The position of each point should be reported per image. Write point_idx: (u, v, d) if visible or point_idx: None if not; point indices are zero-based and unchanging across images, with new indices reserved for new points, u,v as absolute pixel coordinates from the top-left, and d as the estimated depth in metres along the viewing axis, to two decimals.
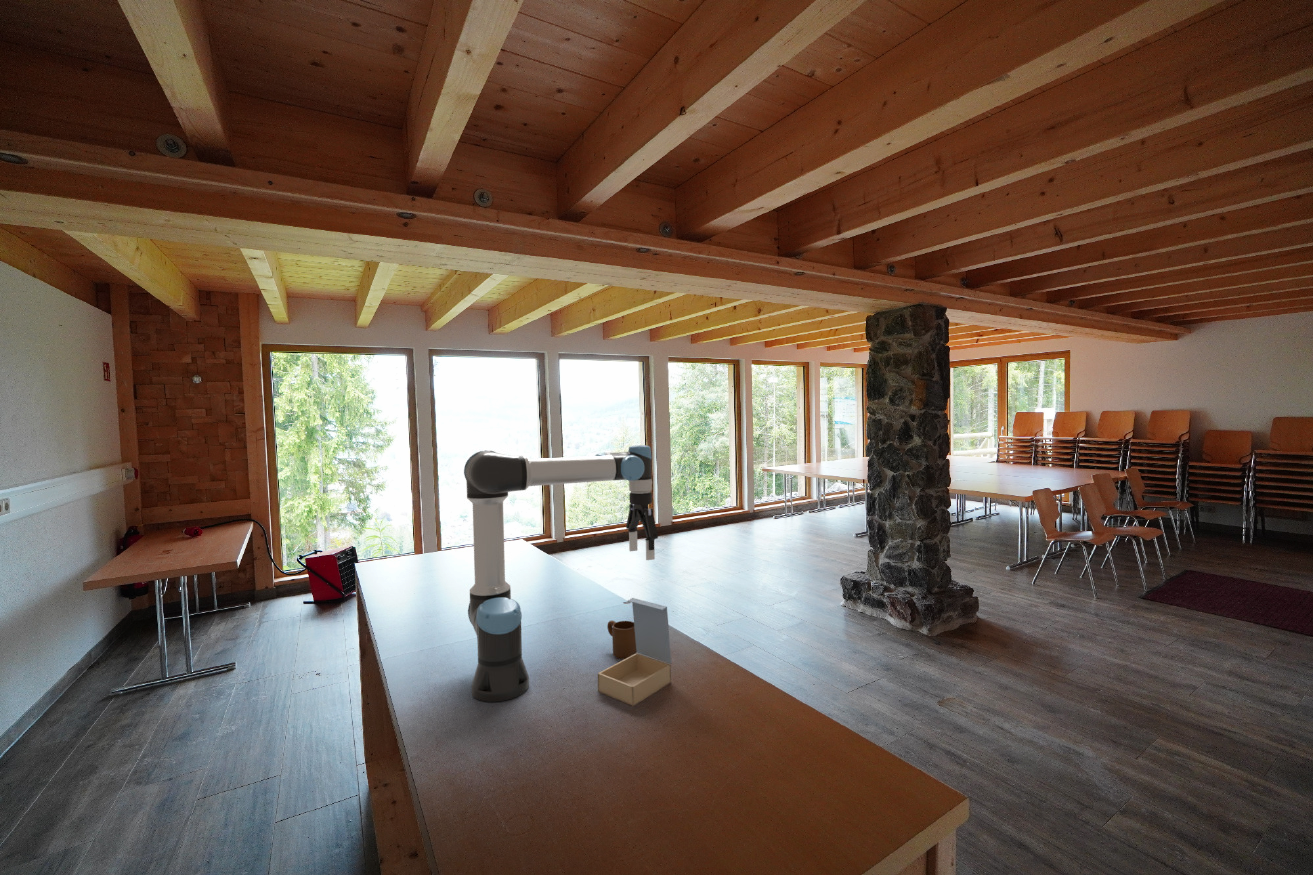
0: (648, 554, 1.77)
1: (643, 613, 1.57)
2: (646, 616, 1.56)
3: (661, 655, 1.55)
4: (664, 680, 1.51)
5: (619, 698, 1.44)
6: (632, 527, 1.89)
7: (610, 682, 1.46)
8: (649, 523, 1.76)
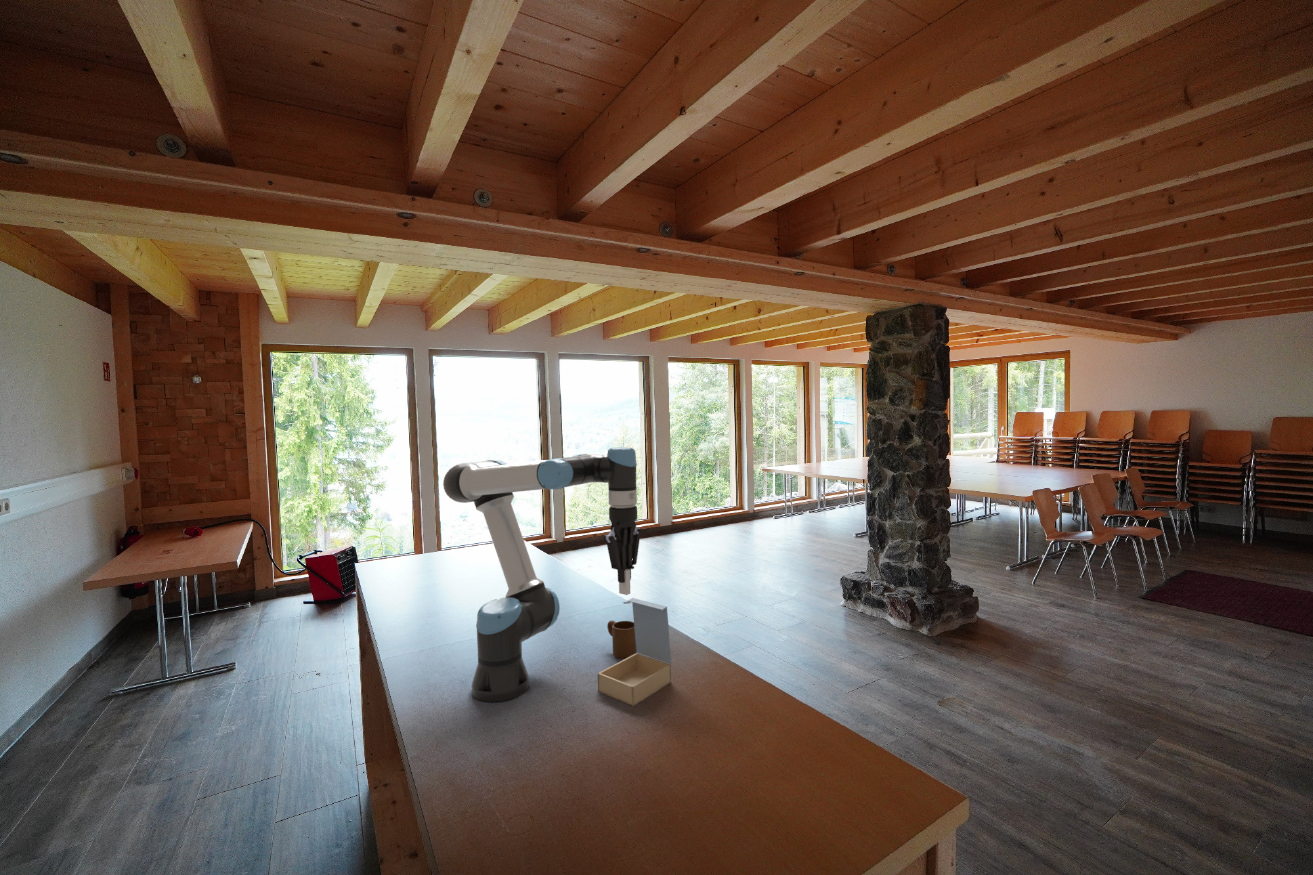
0: (620, 586, 1.47)
1: (643, 613, 1.57)
2: (646, 616, 1.56)
3: (661, 655, 1.55)
4: (664, 680, 1.51)
5: (619, 698, 1.44)
6: None
7: (610, 682, 1.46)
8: (609, 552, 1.43)
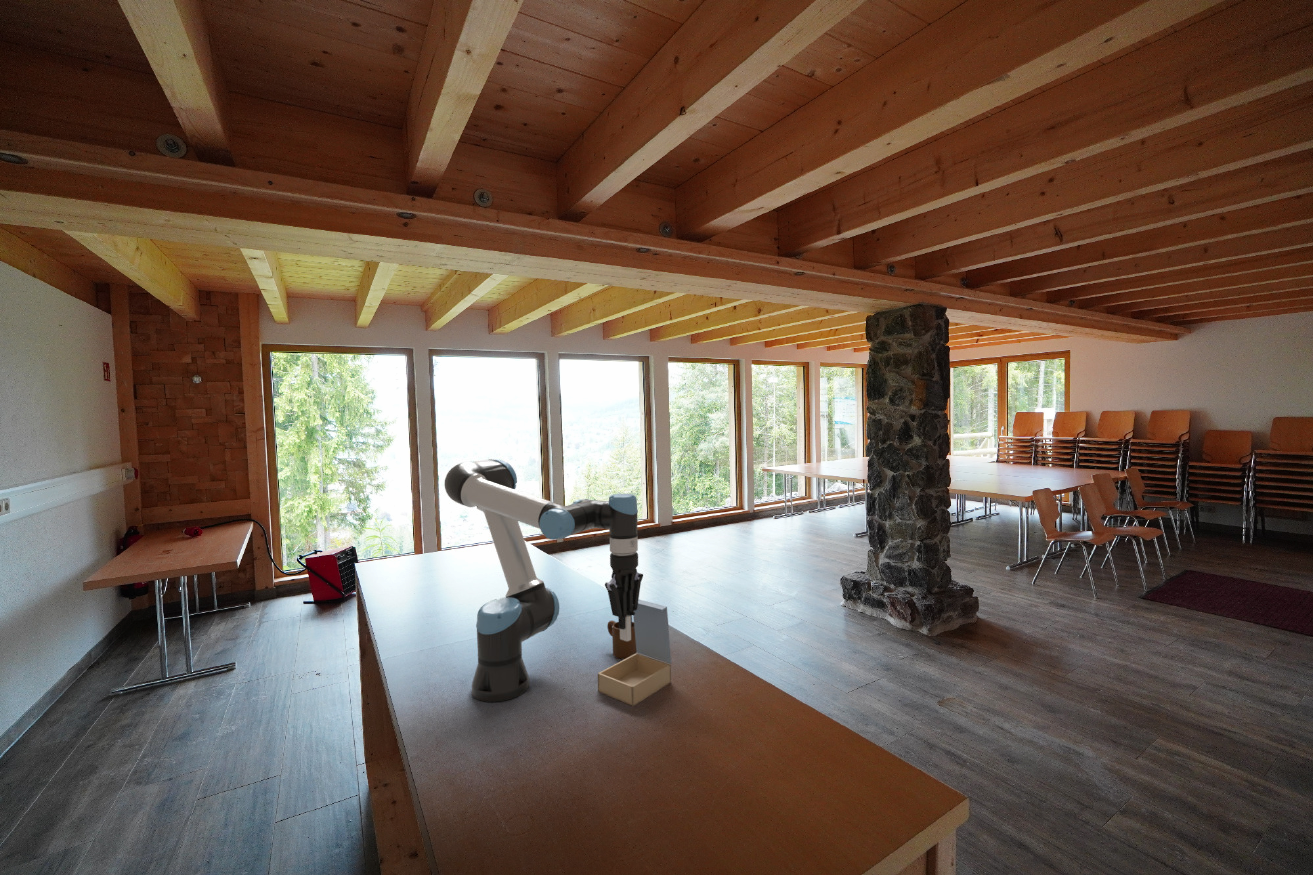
0: (621, 632, 1.48)
1: (643, 613, 1.57)
2: (646, 616, 1.56)
3: (661, 655, 1.55)
4: (664, 680, 1.51)
5: (619, 698, 1.44)
6: None
7: (610, 682, 1.46)
8: (610, 599, 1.44)
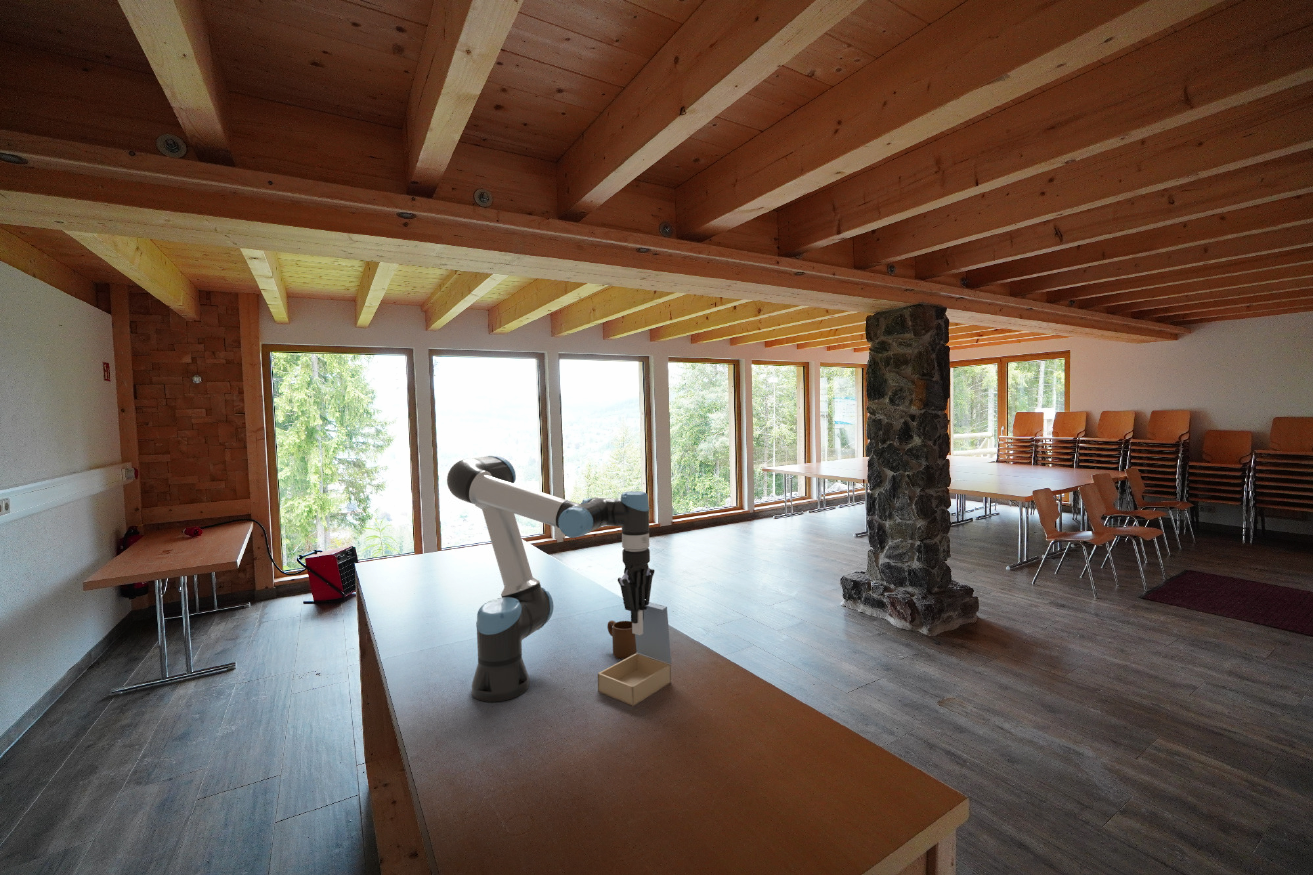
0: (633, 626, 1.51)
1: None
2: (646, 616, 1.56)
3: (661, 655, 1.55)
4: (664, 680, 1.51)
5: (619, 698, 1.44)
6: None
7: (610, 682, 1.46)
8: (623, 594, 1.48)
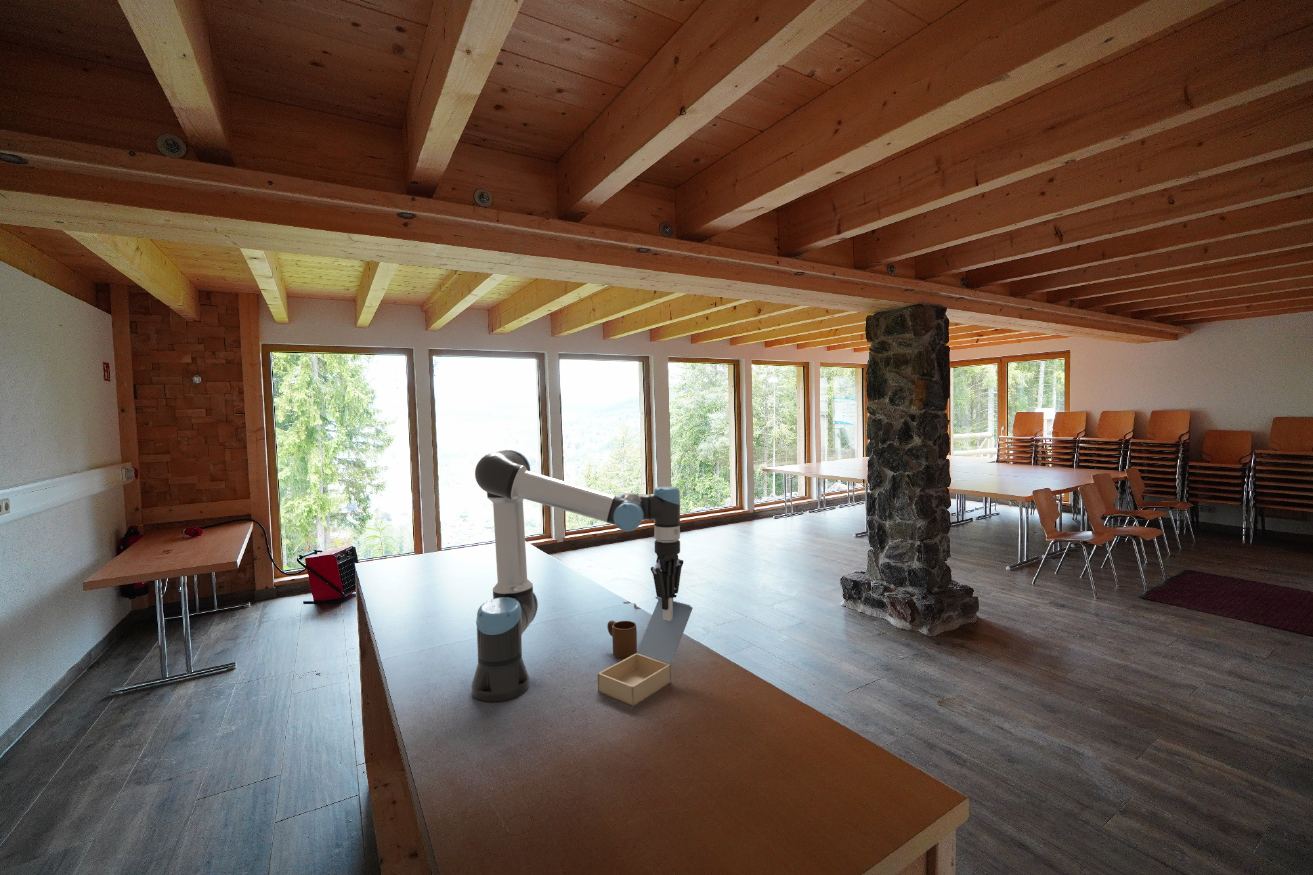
0: (664, 613, 1.62)
1: None
2: None
3: (664, 654, 1.56)
4: (664, 680, 1.51)
5: (619, 698, 1.44)
6: None
7: (610, 682, 1.46)
8: (655, 582, 1.58)
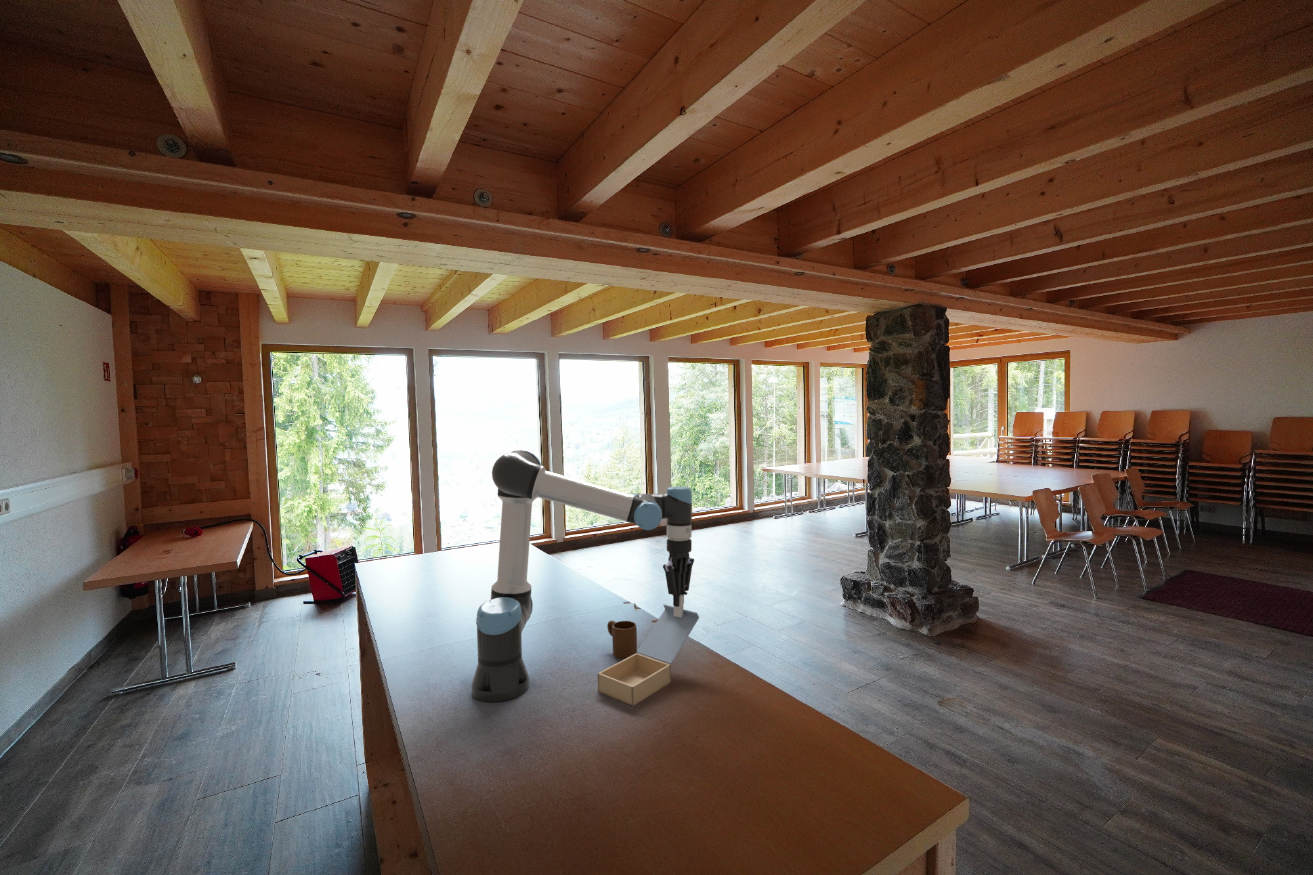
0: (675, 610, 1.66)
1: (669, 620, 1.67)
2: (671, 622, 1.66)
3: (664, 655, 1.56)
4: (664, 680, 1.51)
5: (619, 698, 1.44)
6: None
7: (610, 682, 1.46)
8: (667, 579, 1.63)
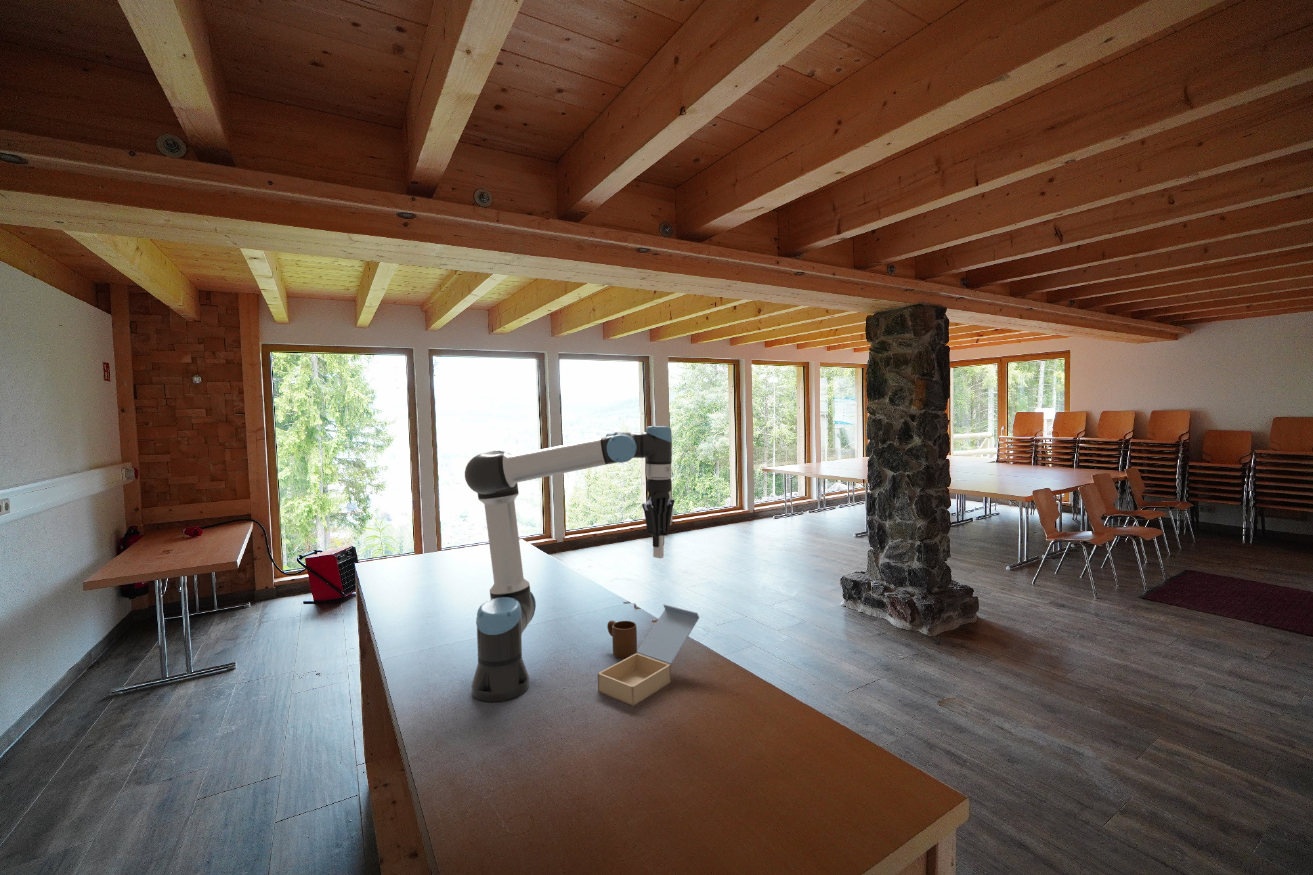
0: (654, 551, 1.63)
1: (669, 620, 1.67)
2: (671, 623, 1.66)
3: (664, 655, 1.56)
4: (664, 680, 1.51)
5: (619, 698, 1.44)
6: None
7: (610, 682, 1.46)
8: (646, 519, 1.60)
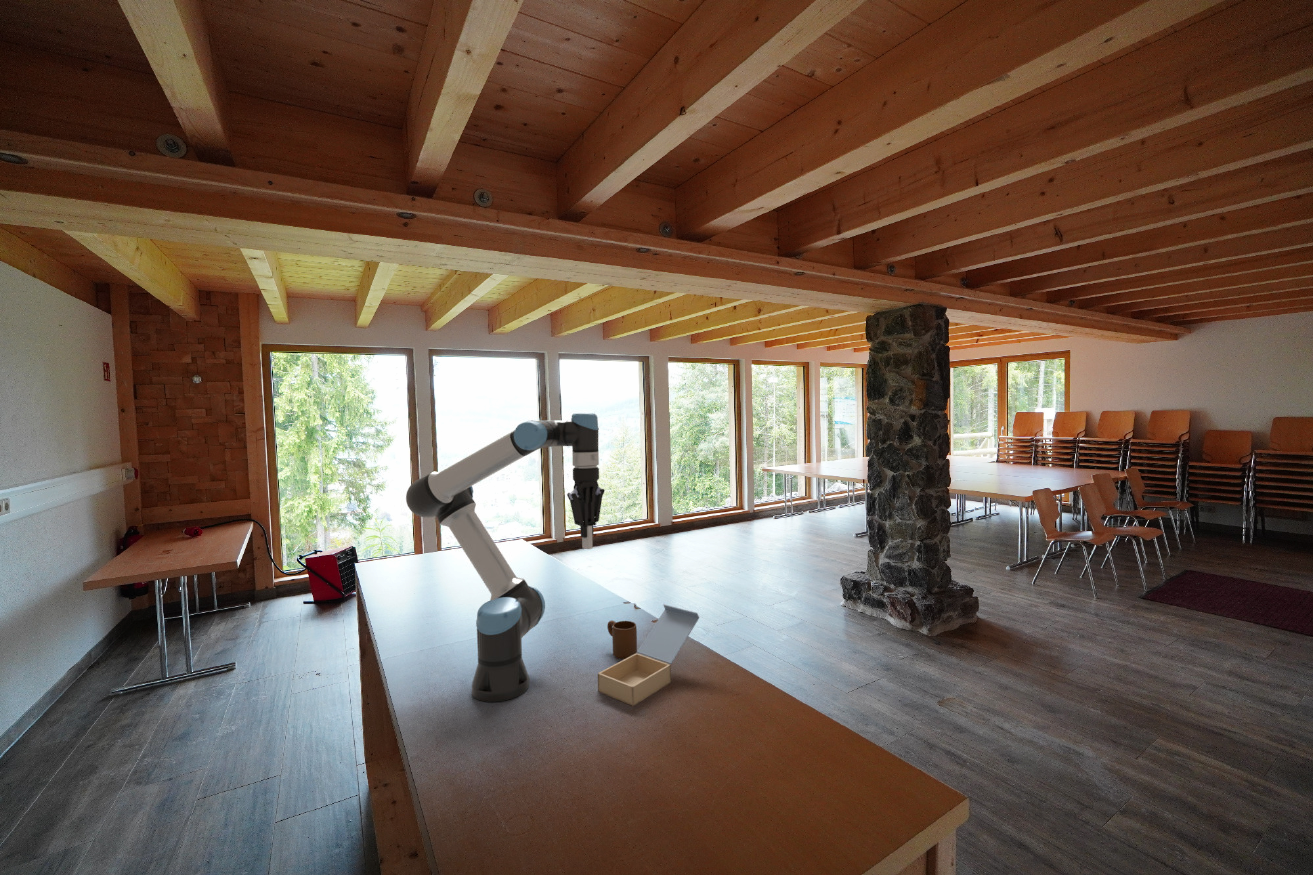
0: (583, 541, 1.59)
1: (669, 620, 1.67)
2: (671, 623, 1.66)
3: (664, 655, 1.56)
4: (664, 680, 1.51)
5: (619, 698, 1.44)
6: None
7: (610, 682, 1.46)
8: (572, 508, 1.56)
